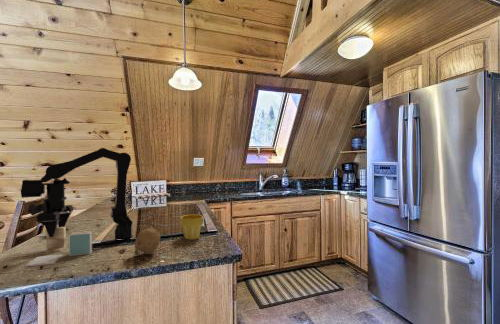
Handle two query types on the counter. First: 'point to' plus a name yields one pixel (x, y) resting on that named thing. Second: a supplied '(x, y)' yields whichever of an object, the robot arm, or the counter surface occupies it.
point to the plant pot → (191, 226)
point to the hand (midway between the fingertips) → (56, 233)
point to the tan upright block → (56, 240)
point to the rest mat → (44, 260)
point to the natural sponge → (147, 241)
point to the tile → (80, 243)
